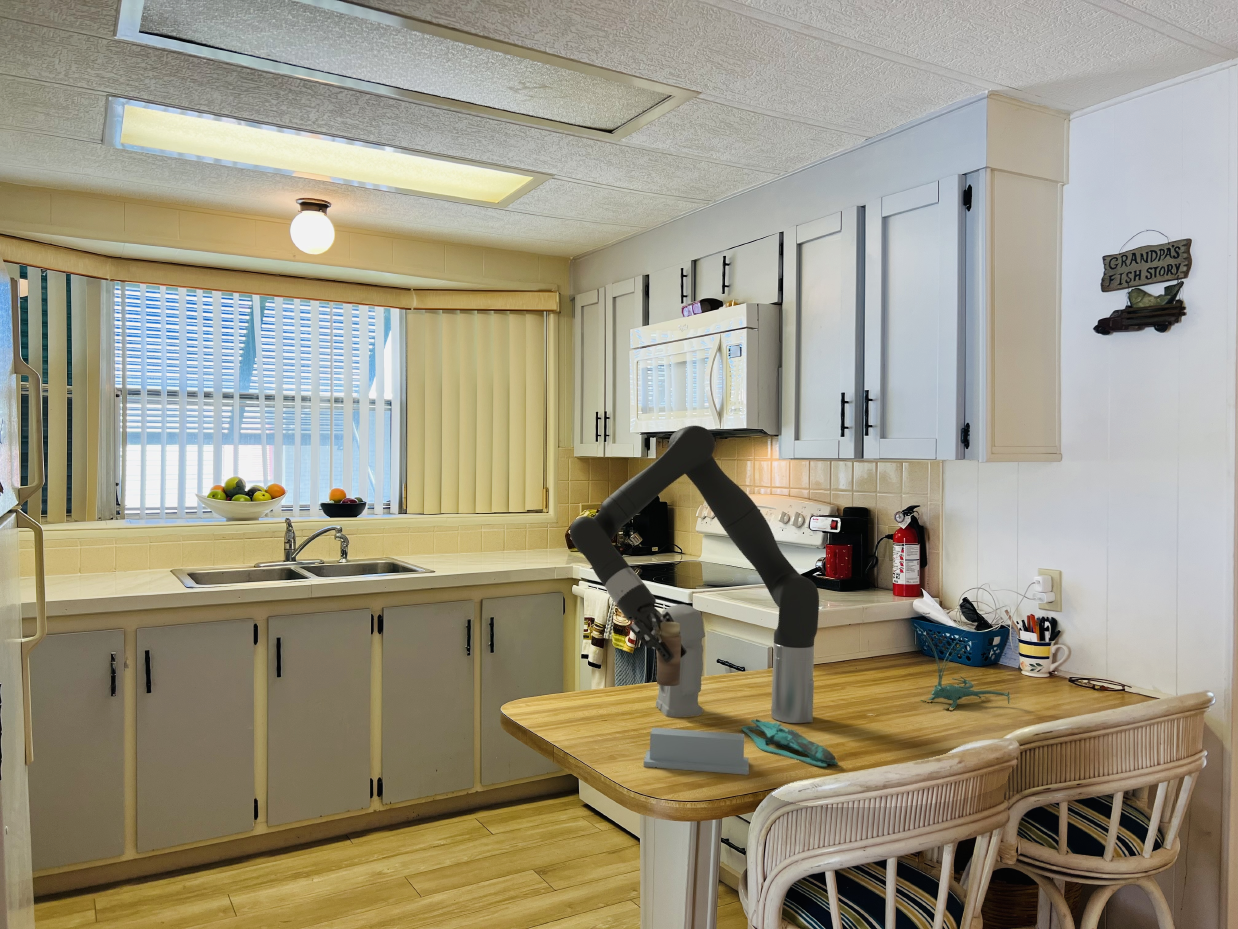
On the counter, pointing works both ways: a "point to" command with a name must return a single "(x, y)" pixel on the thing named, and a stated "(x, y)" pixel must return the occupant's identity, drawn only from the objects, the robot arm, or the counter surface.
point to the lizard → (956, 691)
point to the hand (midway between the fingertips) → (676, 657)
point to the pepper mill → (671, 671)
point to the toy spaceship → (789, 743)
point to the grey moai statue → (685, 666)
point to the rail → (697, 751)
